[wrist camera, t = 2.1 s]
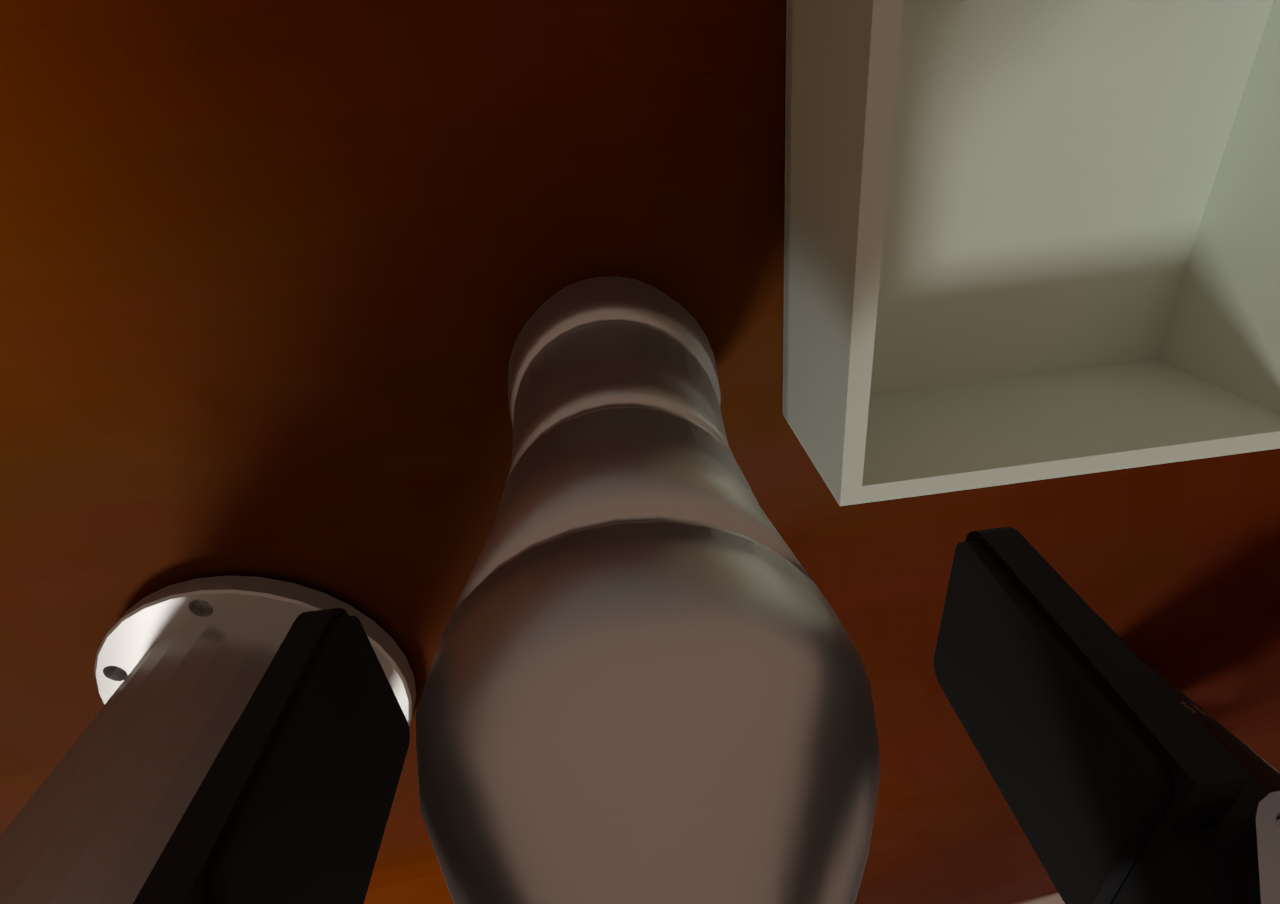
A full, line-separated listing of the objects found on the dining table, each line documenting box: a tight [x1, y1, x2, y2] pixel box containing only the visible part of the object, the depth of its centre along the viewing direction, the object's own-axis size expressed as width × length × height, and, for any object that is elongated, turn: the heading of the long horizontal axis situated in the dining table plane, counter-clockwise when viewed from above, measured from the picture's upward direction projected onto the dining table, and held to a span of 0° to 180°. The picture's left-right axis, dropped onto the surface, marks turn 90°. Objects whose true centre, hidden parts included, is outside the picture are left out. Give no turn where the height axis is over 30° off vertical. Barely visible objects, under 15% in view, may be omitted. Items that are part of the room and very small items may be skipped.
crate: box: [783, 0, 1280, 506], centre depth 15 cm, size 20×14×6 cm
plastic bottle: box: [416, 276, 880, 904], centre depth 13 cm, size 6×7×20 cm
